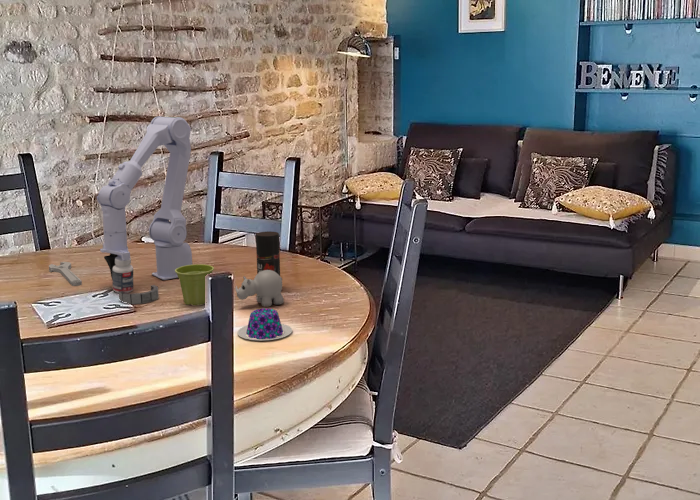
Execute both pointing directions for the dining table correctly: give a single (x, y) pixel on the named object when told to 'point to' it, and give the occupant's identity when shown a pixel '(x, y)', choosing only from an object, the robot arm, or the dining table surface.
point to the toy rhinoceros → (262, 288)
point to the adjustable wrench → (66, 273)
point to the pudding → (264, 326)
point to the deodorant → (268, 251)
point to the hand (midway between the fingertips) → (117, 281)
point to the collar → (140, 296)
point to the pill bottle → (122, 275)
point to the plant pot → (193, 282)
